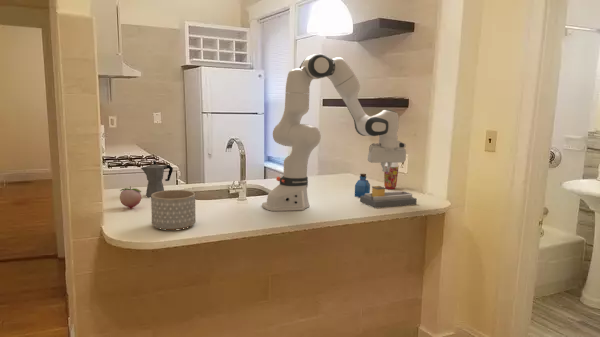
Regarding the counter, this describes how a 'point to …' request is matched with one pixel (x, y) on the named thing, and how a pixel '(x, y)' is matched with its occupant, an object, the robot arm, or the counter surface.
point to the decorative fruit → (130, 197)
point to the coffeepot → (155, 177)
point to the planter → (173, 209)
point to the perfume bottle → (362, 186)
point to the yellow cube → (378, 191)
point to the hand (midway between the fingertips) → (385, 171)
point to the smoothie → (391, 176)
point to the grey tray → (389, 199)
